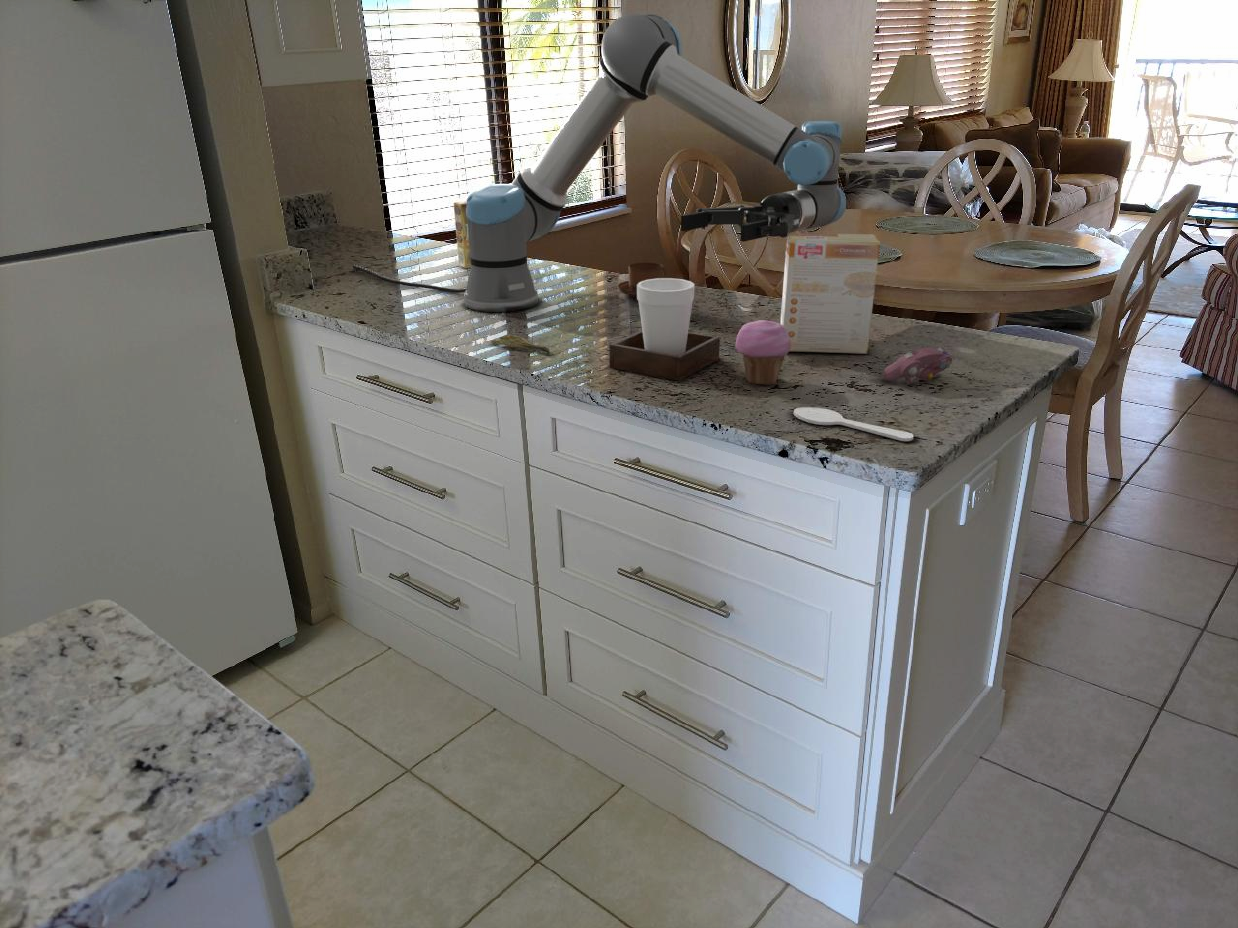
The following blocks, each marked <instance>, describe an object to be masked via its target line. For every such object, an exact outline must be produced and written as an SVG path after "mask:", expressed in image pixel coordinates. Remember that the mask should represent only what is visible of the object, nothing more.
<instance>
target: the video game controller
mask: <svg viewBox="0 0 1238 928" xmlns="http://www.w3.org/2000/svg"><path fill="white" fill-rule="evenodd" d="M952 362H953V358H952V356H950V355H949V353H948V352H947V351H946V350H943V349H942V347H941V346H940V347H938V348H934V347H920V348H918V349H915V350H914V351H909V352H906V353H905V354H903V355H901V356H900V357H899V358H898V359H897V360H895V361H894V362H893V363H892V364H890V365H888V366H886V367H885V369H884V370H883V374H882V376H883V377H882V378H883V379H884V381H886V382H895V381H898V380H900V379H904V380H905V382H906V383H907V384H908V385H911V384H914V383H916V382H917V381H918V380H919V378H920V377H921V379H922V380H923V381H924V382H928V381H931V380H932V379H933V378H934V377H935V376H936V375H938V374H939V373H941V372H943V371H945V370H946V369H947V368H949V367H950V365H951V364H952ZM920 370H921V371H920Z"/></svg>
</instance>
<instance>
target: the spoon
mask: <svg viewBox="0 0 1238 928" xmlns="http://www.w3.org/2000/svg"><path fill="white" fill-rule="evenodd" d="M793 415H794V417H795V418H797V419H799V420H801V421H804V422H807V423H808V424H814V425H820V426H835V425H840V426H844V427H848V428H852V429H856V430H859V431H863V432H867V433H871V434H874V435H878V436H881V437H886V438H890V439H893V440H897V441H900V442H912V441H913V440H914V434H913V433H911V432H907V431H904V430H898V429H895V428H891V427H890V428H888V427H887V426H885V427H884V426H881V425H879V426H878V425H877V424H876V425H874V424H871V423H869V424H868V423H867V422H861V421H855V420H852V419H848V418H847V419H846V418H845V417H843V415H842V414H840V413H839V412H838V411H835V410H832V409H828V408H821V407H814V406H813V407H812V406H809V407H808V406H806V407H805V406H803V407H797V408H795V409H794V410H793Z"/></svg>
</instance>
